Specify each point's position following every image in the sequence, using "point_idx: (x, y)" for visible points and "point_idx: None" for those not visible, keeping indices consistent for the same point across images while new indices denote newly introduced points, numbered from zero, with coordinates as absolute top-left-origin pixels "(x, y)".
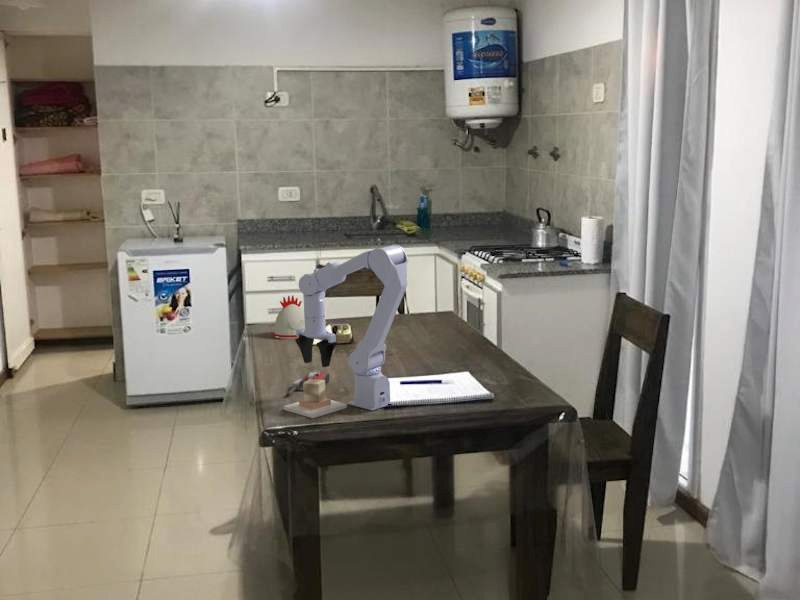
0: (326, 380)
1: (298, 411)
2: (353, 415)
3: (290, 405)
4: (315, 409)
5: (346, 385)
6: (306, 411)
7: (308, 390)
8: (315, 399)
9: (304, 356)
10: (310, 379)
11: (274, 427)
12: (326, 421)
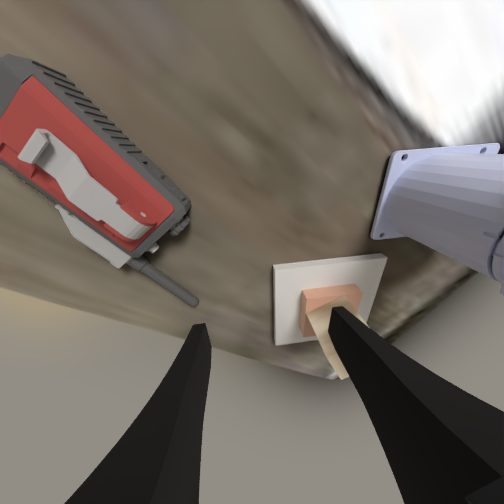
0: (105, 122)
1: None
2: (423, 273)
3: (283, 336)
4: None
5: (192, 73)
6: None
7: None
8: None
9: (206, 387)
10: (331, 357)
11: (335, 374)
12: (392, 320)
